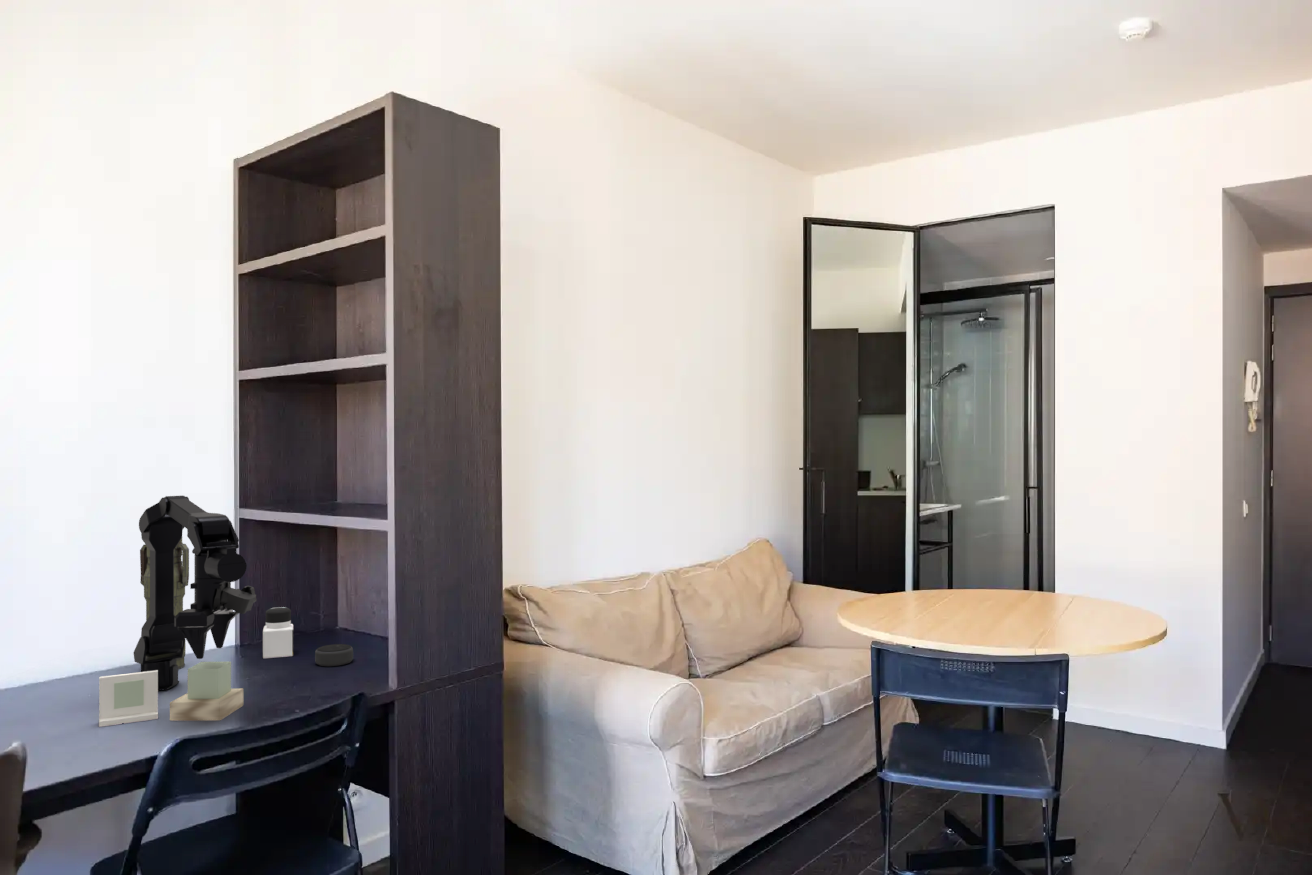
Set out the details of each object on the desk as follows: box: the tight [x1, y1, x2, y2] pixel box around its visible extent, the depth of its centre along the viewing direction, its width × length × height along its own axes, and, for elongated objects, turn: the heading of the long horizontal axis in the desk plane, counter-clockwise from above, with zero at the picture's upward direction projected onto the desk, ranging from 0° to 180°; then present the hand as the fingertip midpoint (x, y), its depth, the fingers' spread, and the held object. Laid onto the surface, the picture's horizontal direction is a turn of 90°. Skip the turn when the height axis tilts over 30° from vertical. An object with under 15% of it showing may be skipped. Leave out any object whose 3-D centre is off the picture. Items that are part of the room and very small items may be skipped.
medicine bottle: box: [262, 606, 294, 659], centre depth 232 cm, size 7×7×12 cm
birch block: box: [169, 687, 244, 722], centre depth 182 cm, size 10×10×4 cm
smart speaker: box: [314, 643, 354, 667], centre depth 224 cm, size 9×9×4 cm
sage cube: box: [187, 661, 232, 699], centre depth 183 cm, size 6×6×6 cm
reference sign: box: [98, 670, 159, 728], centre depth 178 cm, size 10×5×9 cm, turn 120°
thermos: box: [139, 538, 190, 670], centre depth 219 cm, size 9×12×35 cm
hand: (210, 653), depth 183 cm, fingers open, 9 cm apart
